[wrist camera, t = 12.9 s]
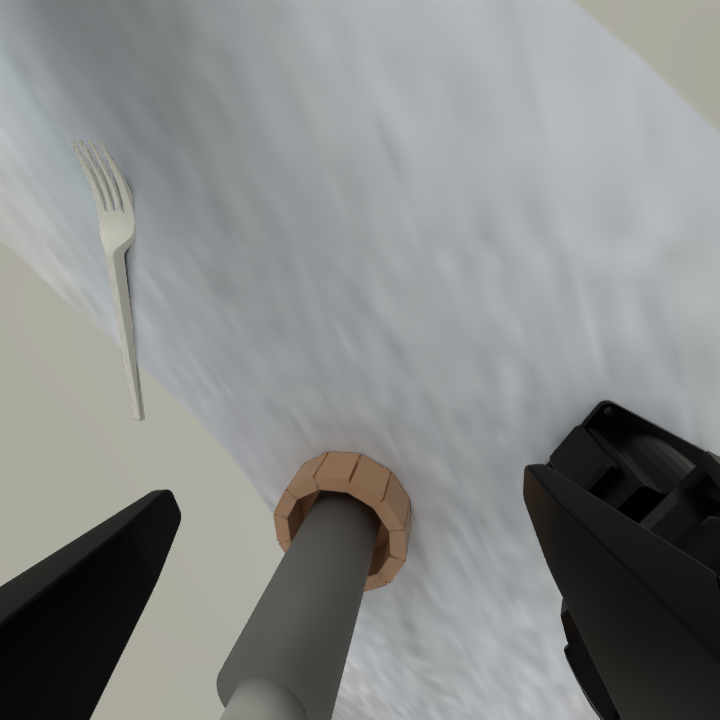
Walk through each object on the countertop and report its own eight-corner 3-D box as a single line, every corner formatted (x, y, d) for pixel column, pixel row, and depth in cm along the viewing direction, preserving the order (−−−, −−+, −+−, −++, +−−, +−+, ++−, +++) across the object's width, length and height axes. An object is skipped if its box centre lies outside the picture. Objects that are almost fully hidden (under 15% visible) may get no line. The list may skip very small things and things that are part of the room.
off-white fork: (129, 413, 30) (109, 423, 28) (92, 147, 23) (63, 138, 21) (161, 421, 29) (143, 432, 27) (132, 149, 22) (105, 140, 21)
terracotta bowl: (433, 495, 24) (432, 527, 21) (375, 576, 27) (367, 612, 24) (320, 429, 24) (304, 452, 22) (277, 515, 28) (257, 544, 25)
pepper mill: (395, 527, 24) (342, 795, 12) (341, 552, 26) (248, 807, 14) (352, 472, 24) (253, 692, 12) (301, 500, 26) (169, 718, 13)
